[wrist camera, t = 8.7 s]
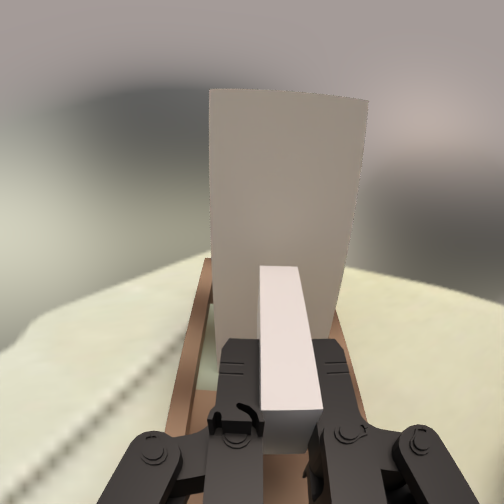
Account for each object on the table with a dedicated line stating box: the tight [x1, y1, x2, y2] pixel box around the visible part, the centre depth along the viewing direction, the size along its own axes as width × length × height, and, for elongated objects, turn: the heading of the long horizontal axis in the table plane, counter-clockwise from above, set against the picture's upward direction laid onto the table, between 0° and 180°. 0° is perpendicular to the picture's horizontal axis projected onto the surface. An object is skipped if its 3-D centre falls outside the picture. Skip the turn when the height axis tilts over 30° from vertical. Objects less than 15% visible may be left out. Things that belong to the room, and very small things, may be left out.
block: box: [209, 89, 369, 374], centre depth 17 cm, size 7×6×15 cm
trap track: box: [165, 258, 367, 504], centre depth 16 cm, size 28×10×3 cm, turn 0°
